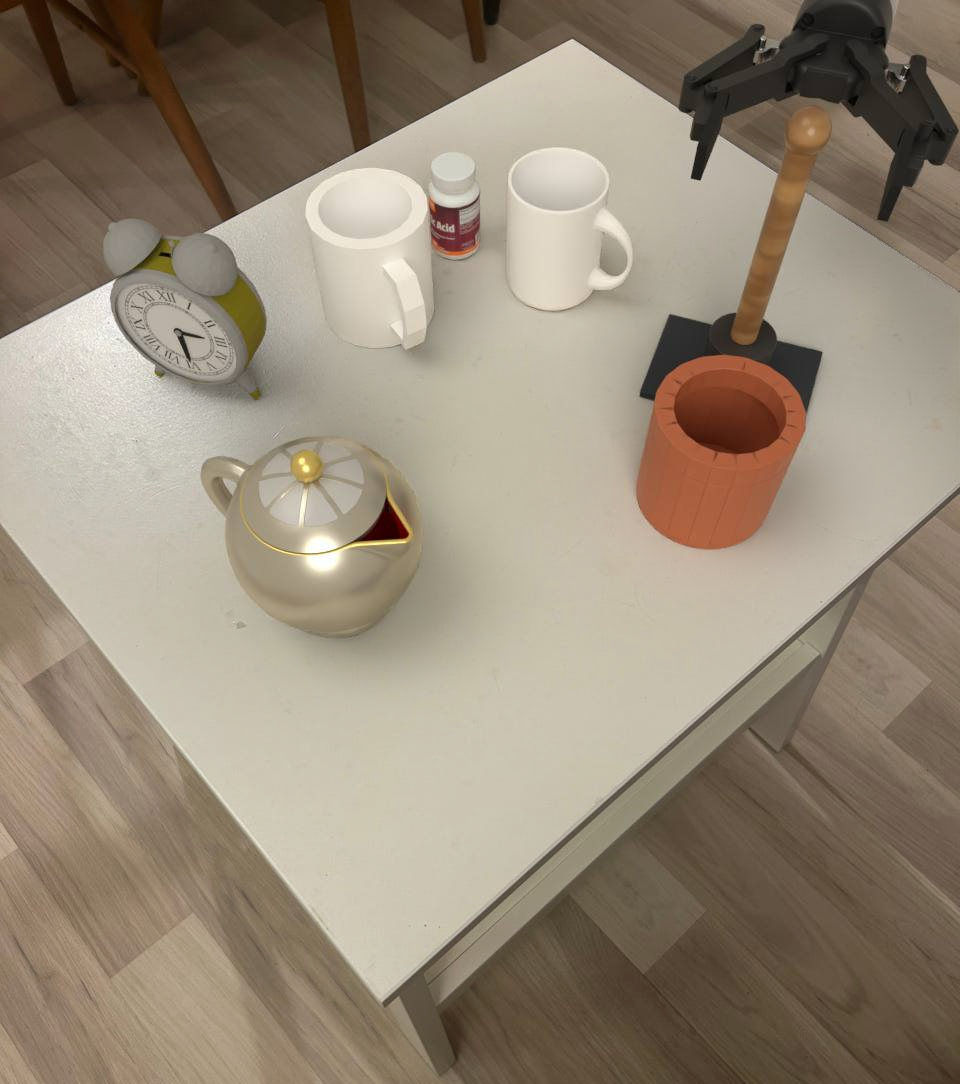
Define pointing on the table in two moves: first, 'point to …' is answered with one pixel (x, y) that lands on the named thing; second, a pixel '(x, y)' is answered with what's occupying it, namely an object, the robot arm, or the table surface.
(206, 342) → the alarm clock
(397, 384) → the table surface
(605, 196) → the mug
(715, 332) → the brush
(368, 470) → the teapot
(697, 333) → the mat
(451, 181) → the pill bottle
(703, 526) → the jar
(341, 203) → the mug
